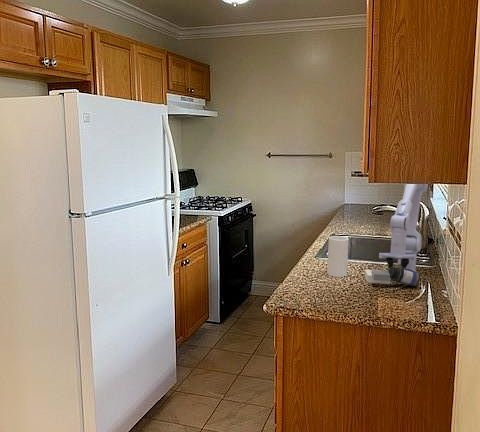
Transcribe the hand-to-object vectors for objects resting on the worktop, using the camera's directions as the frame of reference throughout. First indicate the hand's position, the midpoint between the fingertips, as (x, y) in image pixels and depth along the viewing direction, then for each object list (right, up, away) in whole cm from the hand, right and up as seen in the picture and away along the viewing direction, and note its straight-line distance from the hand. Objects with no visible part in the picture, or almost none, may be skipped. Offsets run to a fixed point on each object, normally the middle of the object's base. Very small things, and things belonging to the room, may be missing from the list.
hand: (396, 275), depth 197 cm
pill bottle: (+5, 0, -10) cm, 11 cm away
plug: (0, -1, 0) cm, 1 cm away
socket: (-8, -2, -2) cm, 9 cm away
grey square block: (-10, 0, -10) cm, 14 cm away
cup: (-23, 0, +5) cm, 24 cm away
